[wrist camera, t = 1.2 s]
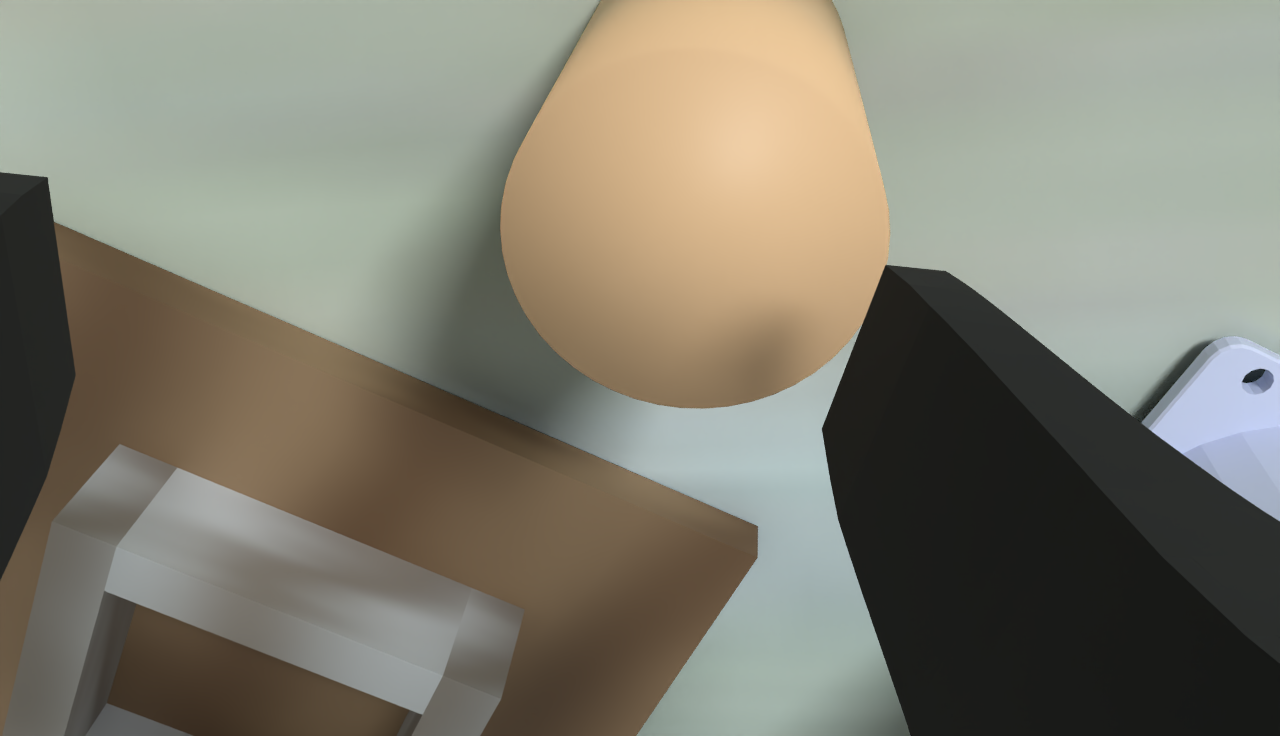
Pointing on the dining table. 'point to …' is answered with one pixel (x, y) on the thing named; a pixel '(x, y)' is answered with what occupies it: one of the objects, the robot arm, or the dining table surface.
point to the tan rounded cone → (699, 201)
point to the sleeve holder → (328, 544)
